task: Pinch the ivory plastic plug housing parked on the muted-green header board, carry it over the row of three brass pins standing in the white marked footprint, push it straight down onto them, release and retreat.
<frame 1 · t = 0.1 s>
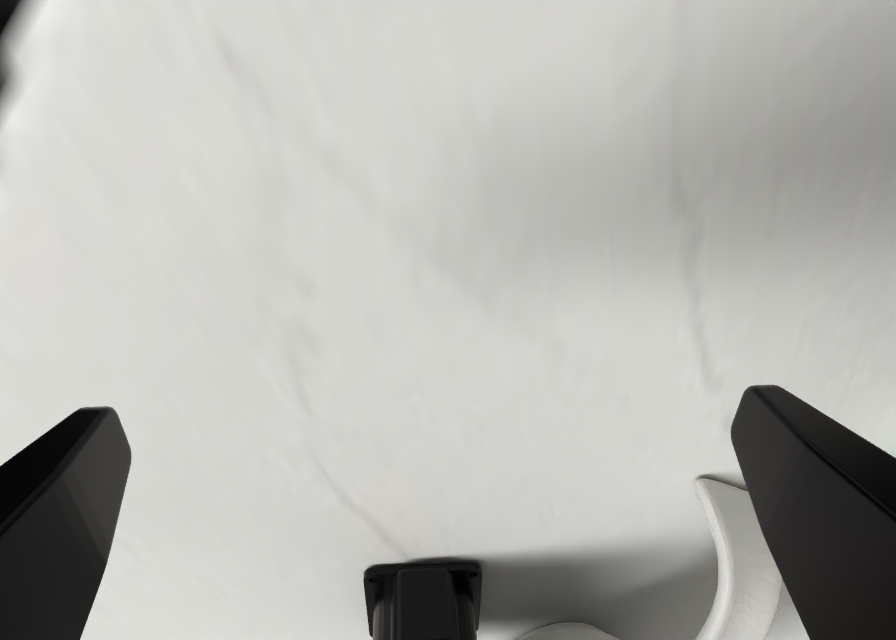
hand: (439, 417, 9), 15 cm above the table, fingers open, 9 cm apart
spoon rest: (603, 596, 40), on the table
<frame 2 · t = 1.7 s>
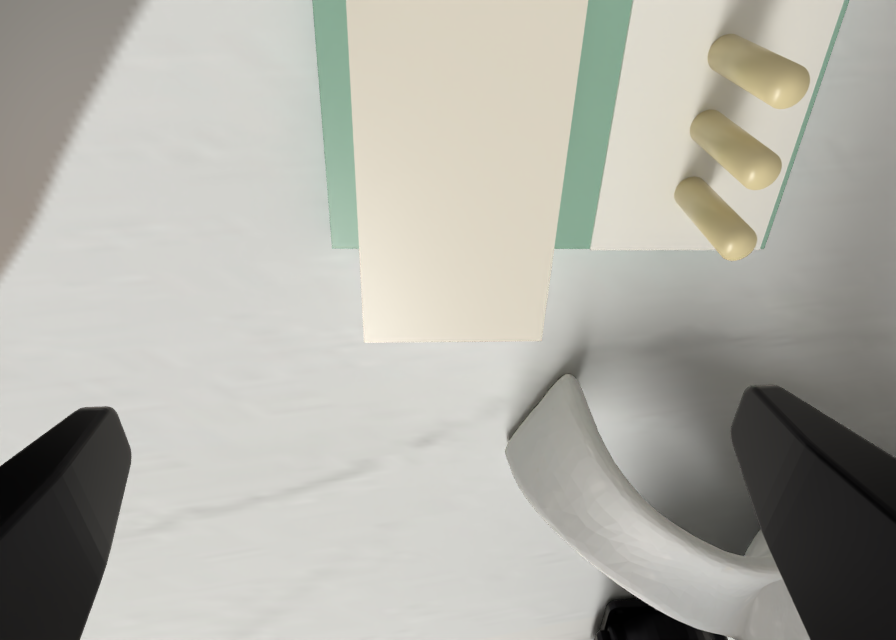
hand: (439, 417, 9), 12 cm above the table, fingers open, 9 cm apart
spoon rest: (738, 484, 30), on the table
plug housing: (447, 122, 18), point 1 cm above the table, touching header board
header board: (561, 111, 19), on the table
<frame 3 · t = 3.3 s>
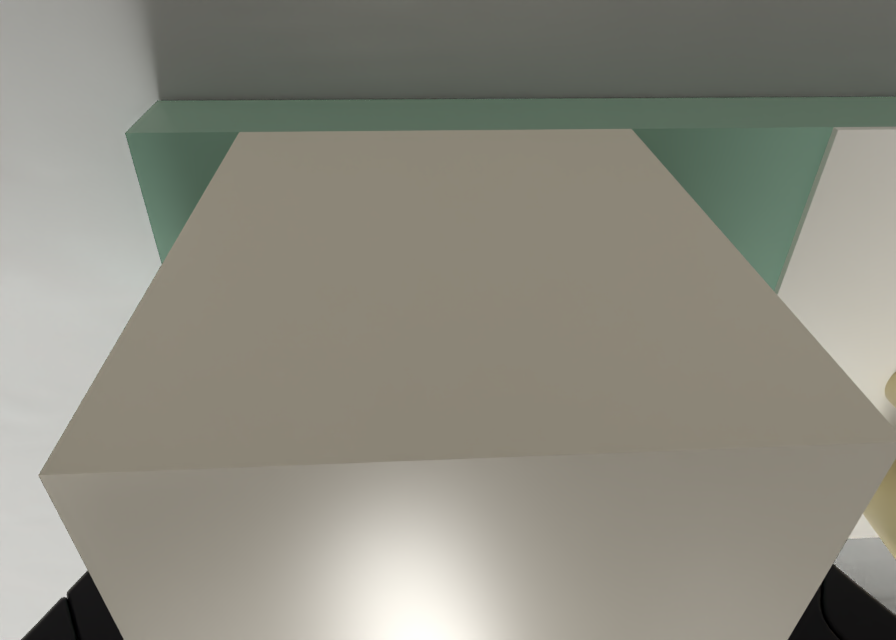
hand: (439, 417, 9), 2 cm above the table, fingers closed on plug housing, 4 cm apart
plug housing: (437, 392, 10), point 1 cm above the table, touching gripper, header board
header board: (641, 338, 11), on the table
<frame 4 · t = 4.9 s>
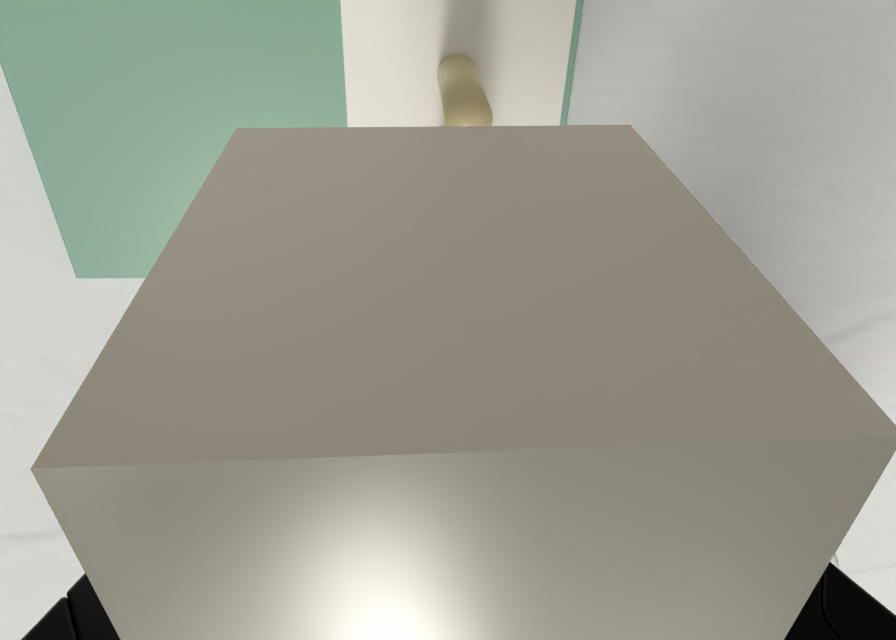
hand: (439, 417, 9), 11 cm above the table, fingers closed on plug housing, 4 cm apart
plug housing: (435, 390, 10), point 11 cm above the table, touching gripper
header board: (308, 133, 18), on the table
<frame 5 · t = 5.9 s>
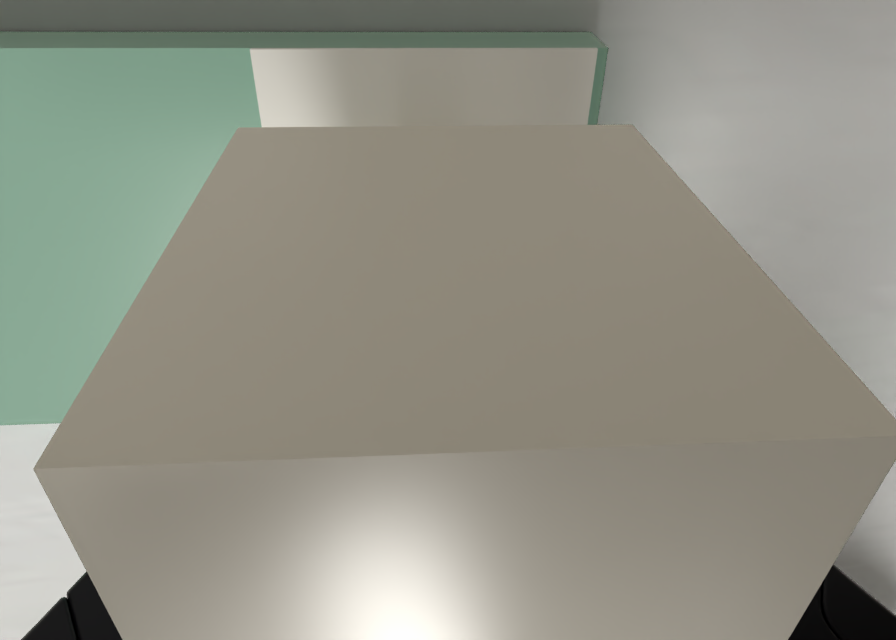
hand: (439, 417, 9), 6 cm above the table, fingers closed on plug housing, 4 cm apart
plug housing: (437, 390, 10), point 5 cm above the table, touching gripper
header board: (234, 236, 14), on the table
when the fingers open (2 cm above the table, at t = 6.8 s): plug housing stays where it is, resting on header board.
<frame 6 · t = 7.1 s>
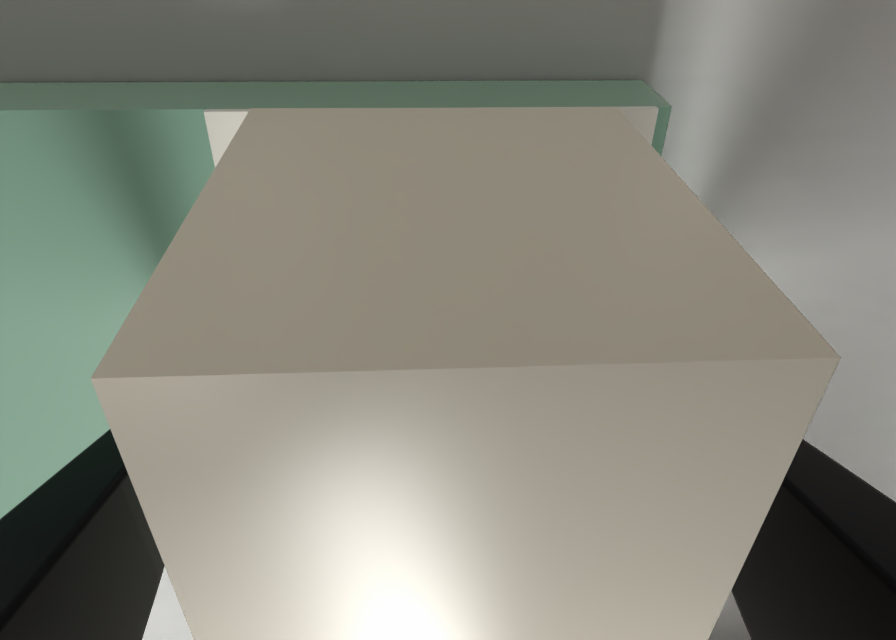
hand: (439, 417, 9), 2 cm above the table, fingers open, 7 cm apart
plug housing: (435, 361, 10), point 1 cm above the table, touching header board
header board: (198, 322, 11), on the table
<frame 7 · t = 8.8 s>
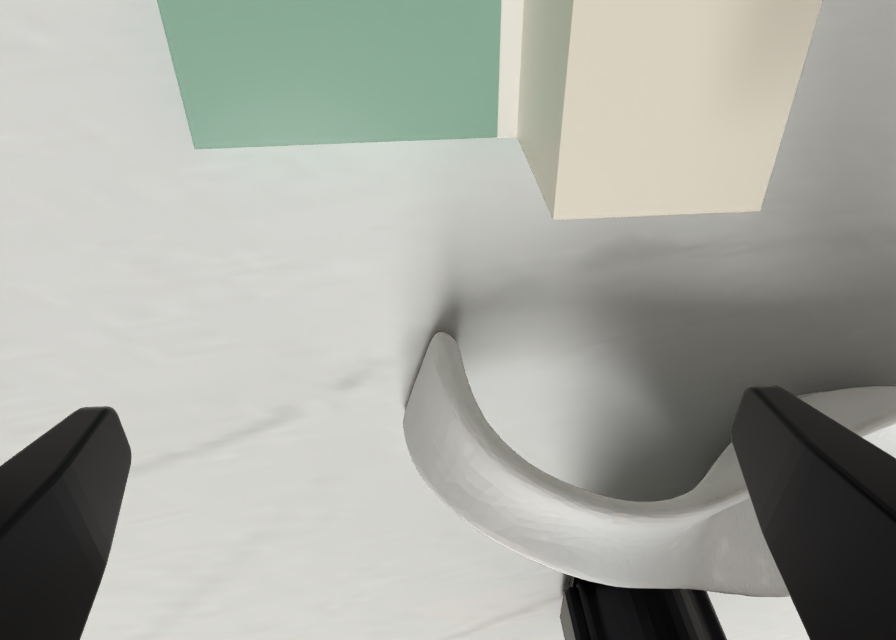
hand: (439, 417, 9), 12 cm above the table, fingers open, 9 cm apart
spoon rest: (684, 418, 27), on the table
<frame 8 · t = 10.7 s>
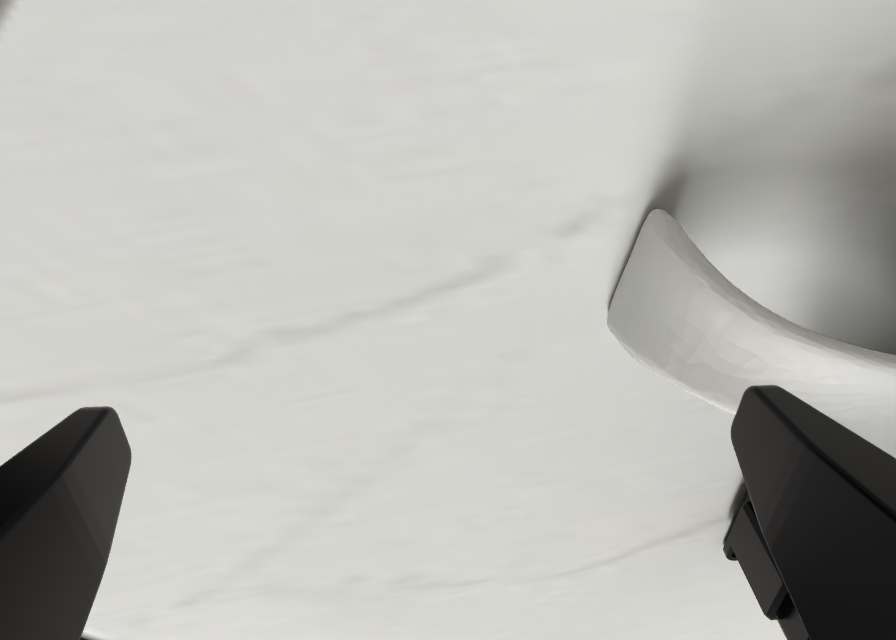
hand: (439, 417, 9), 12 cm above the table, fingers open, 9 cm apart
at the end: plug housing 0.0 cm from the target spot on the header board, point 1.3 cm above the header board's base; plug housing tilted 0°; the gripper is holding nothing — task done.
